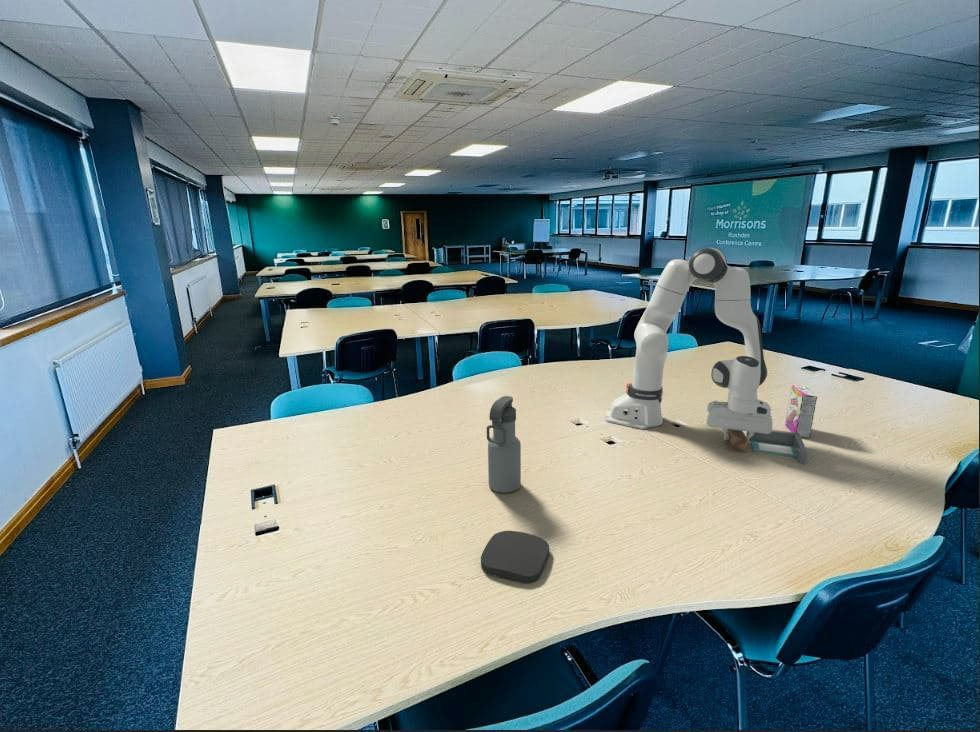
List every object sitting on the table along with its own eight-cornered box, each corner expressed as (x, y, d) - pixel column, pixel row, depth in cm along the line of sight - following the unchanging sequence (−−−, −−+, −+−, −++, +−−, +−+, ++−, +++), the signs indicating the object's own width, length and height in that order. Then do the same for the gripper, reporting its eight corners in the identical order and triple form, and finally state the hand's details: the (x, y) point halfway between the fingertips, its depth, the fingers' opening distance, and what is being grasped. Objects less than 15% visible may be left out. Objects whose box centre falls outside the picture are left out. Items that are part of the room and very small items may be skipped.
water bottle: (509, 498, 142) (509, 409, 133) (481, 489, 147) (479, 402, 138) (526, 482, 150) (526, 397, 142) (499, 474, 155) (498, 392, 147)
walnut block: (731, 451, 167) (733, 438, 166) (725, 440, 176) (727, 427, 174) (745, 452, 166) (747, 439, 165) (739, 441, 175) (741, 428, 173)
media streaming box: (475, 572, 113) (475, 562, 112) (497, 535, 126) (497, 525, 125) (536, 588, 108) (536, 577, 107) (552, 548, 121) (552, 537, 120)
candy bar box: (783, 425, 187) (790, 384, 182) (798, 426, 186) (805, 385, 181) (795, 437, 177) (802, 395, 172) (810, 438, 176) (818, 395, 171)
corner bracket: (749, 456, 164) (751, 444, 162) (745, 438, 177) (747, 426, 176) (805, 464, 158) (807, 451, 157) (796, 444, 171) (798, 433, 170)
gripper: (708, 403, 167) (704, 440, 171) (776, 411, 160) (770, 449, 164) (708, 397, 173) (703, 432, 177) (773, 404, 165) (767, 441, 169)
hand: (736, 440), depth 170 cm, fingers closed on walnut block, 5 cm apart
